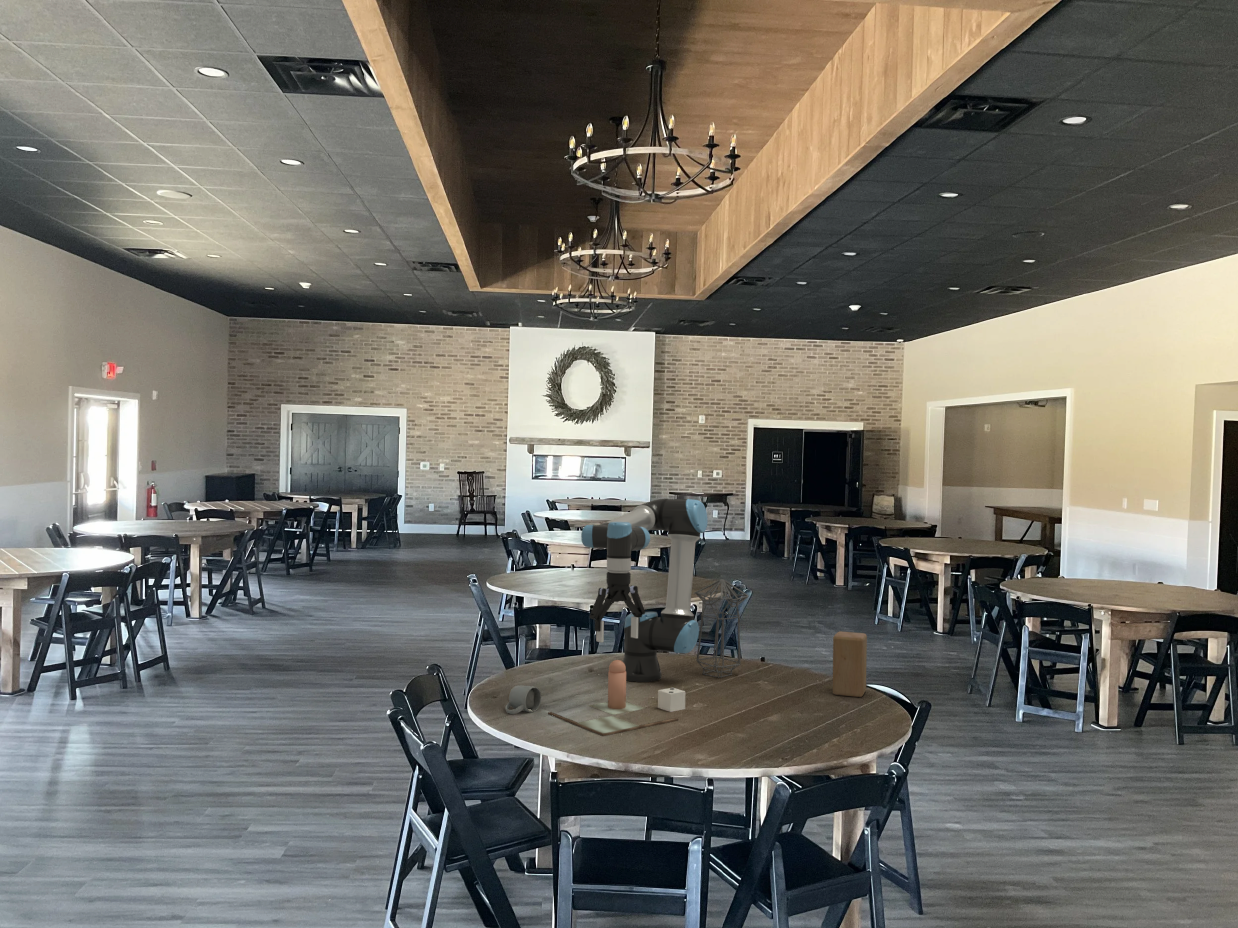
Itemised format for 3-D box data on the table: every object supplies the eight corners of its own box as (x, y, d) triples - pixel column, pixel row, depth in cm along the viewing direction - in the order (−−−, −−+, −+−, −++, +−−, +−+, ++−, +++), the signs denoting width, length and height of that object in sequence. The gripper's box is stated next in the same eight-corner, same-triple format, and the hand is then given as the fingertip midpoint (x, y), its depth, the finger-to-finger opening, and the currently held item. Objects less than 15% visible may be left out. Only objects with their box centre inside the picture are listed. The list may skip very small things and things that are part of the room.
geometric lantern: (715, 668, 350) (719, 575, 350) (748, 676, 338) (752, 580, 338) (687, 673, 339) (691, 577, 339) (719, 682, 328) (723, 583, 328)
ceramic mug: (521, 705, 292) (522, 680, 292) (541, 709, 287) (541, 684, 287) (498, 712, 283) (498, 687, 283) (518, 717, 279) (519, 691, 278)
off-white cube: (672, 706, 293) (672, 687, 293) (685, 710, 288) (685, 690, 288) (657, 709, 289) (658, 689, 289) (670, 713, 284) (670, 693, 284)
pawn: (618, 703, 293) (619, 657, 293) (629, 707, 289) (630, 660, 289) (604, 706, 290) (604, 659, 290) (615, 709, 285) (615, 662, 285)
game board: (620, 700, 299) (620, 698, 299) (678, 720, 277) (678, 718, 277) (548, 713, 282) (548, 711, 282) (603, 735, 260) (603, 733, 260)
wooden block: (831, 694, 311) (832, 635, 311) (836, 688, 320) (837, 630, 320) (862, 698, 307) (863, 637, 307) (866, 691, 316) (867, 632, 316)
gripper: (641, 568, 300) (640, 634, 300) (579, 572, 285) (577, 641, 284) (656, 570, 294) (655, 637, 294) (593, 574, 279) (592, 645, 278)
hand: (617, 639), depth 289 cm, fingers open, 13 cm apart
